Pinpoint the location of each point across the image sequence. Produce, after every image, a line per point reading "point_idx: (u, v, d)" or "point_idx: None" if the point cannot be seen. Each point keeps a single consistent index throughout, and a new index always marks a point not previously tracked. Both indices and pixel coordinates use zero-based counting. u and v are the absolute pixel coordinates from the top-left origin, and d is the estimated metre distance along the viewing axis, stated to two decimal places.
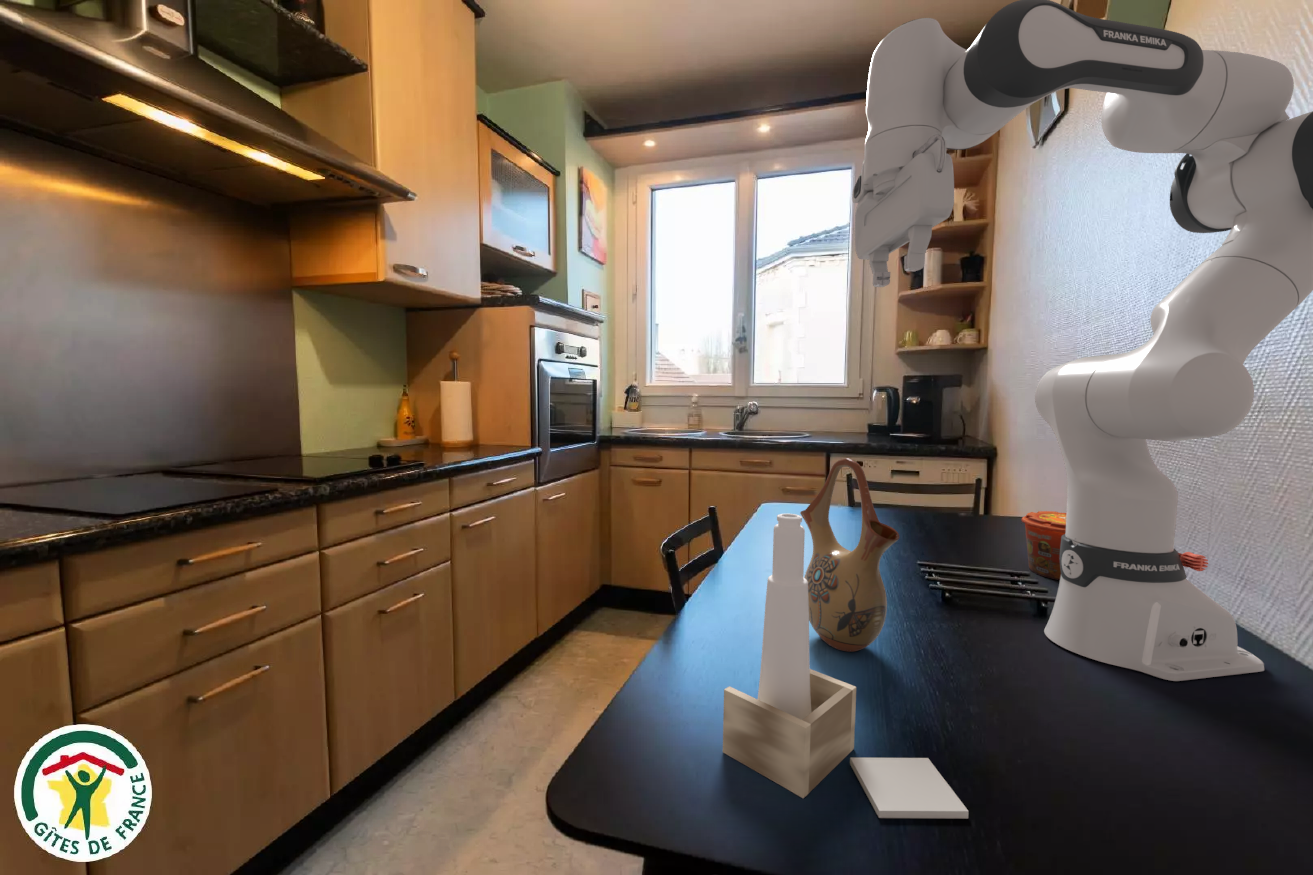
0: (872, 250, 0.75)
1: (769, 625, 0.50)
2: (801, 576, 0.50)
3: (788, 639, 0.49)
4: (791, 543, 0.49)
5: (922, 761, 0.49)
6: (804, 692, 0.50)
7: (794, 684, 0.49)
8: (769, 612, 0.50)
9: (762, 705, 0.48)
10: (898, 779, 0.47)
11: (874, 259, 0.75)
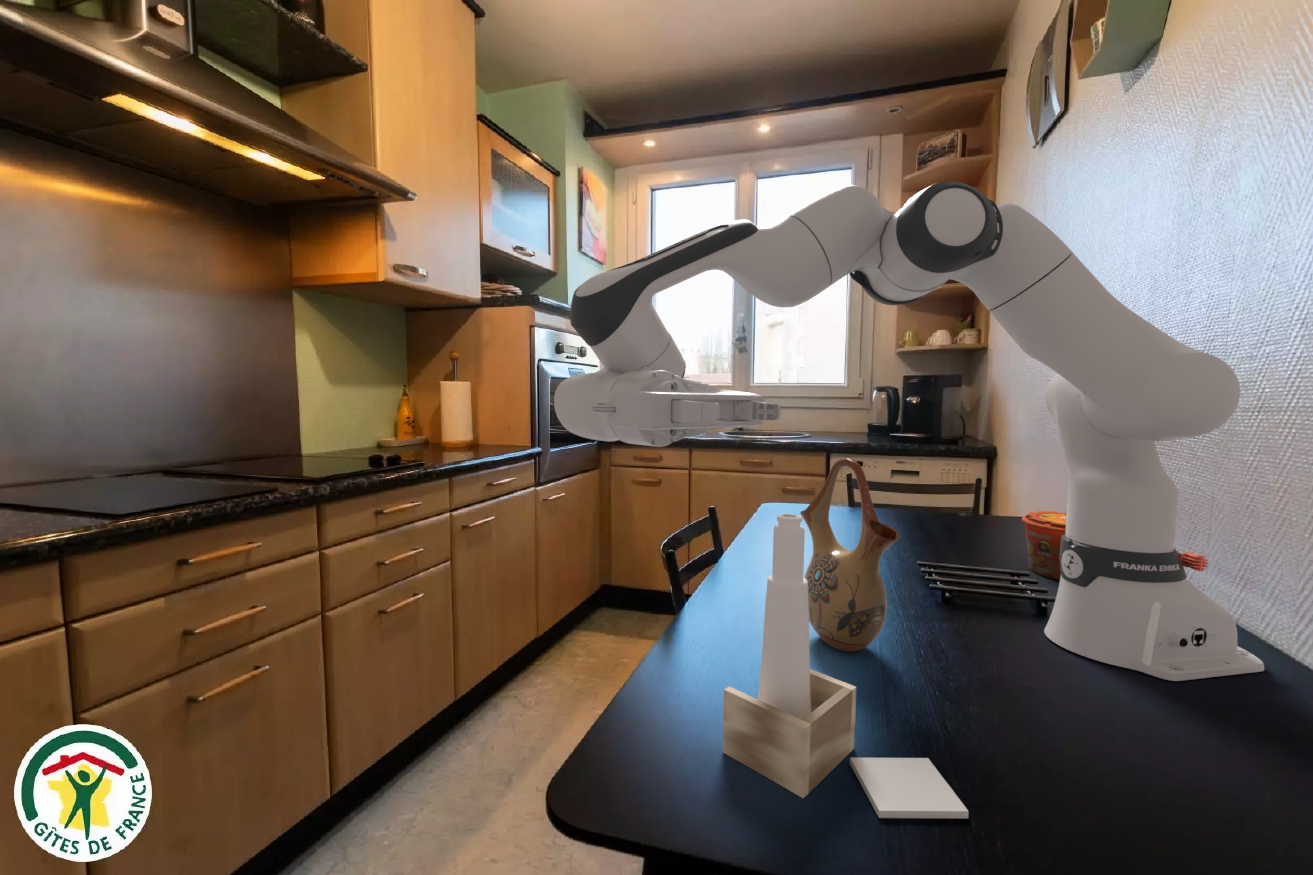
0: (739, 423, 0.62)
1: (769, 625, 0.50)
2: (801, 576, 0.50)
3: (788, 639, 0.49)
4: (791, 543, 0.49)
5: (922, 761, 0.49)
6: (804, 692, 0.50)
7: (794, 684, 0.49)
8: (769, 612, 0.50)
9: (762, 705, 0.48)
10: (898, 779, 0.47)
11: (750, 418, 0.61)
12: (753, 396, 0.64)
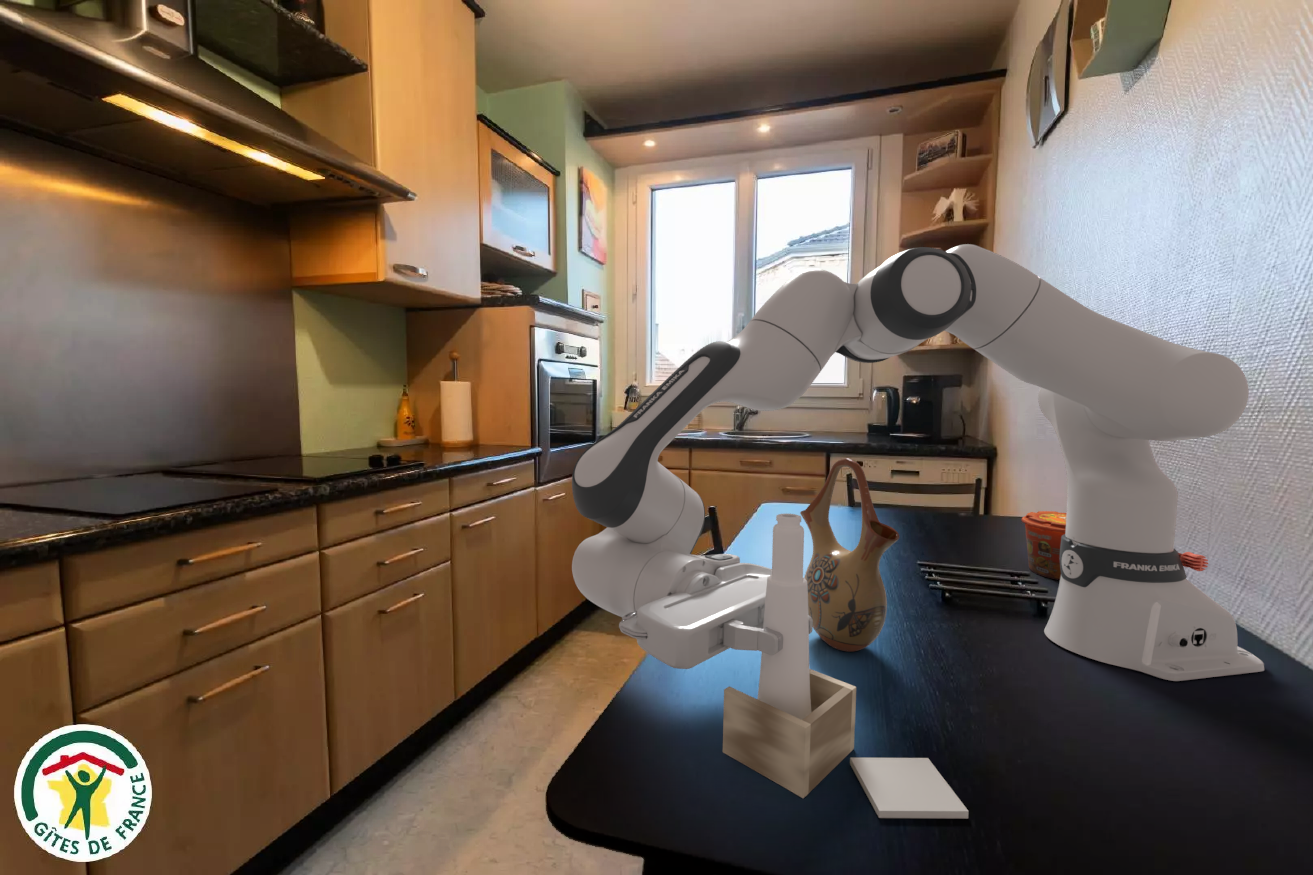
0: None
1: (769, 625, 0.50)
2: (800, 576, 0.50)
3: (788, 639, 0.49)
4: (790, 543, 0.49)
5: (922, 761, 0.49)
6: (804, 692, 0.50)
7: (794, 684, 0.49)
8: (769, 612, 0.50)
9: (762, 705, 0.48)
10: (898, 779, 0.47)
11: None
12: None
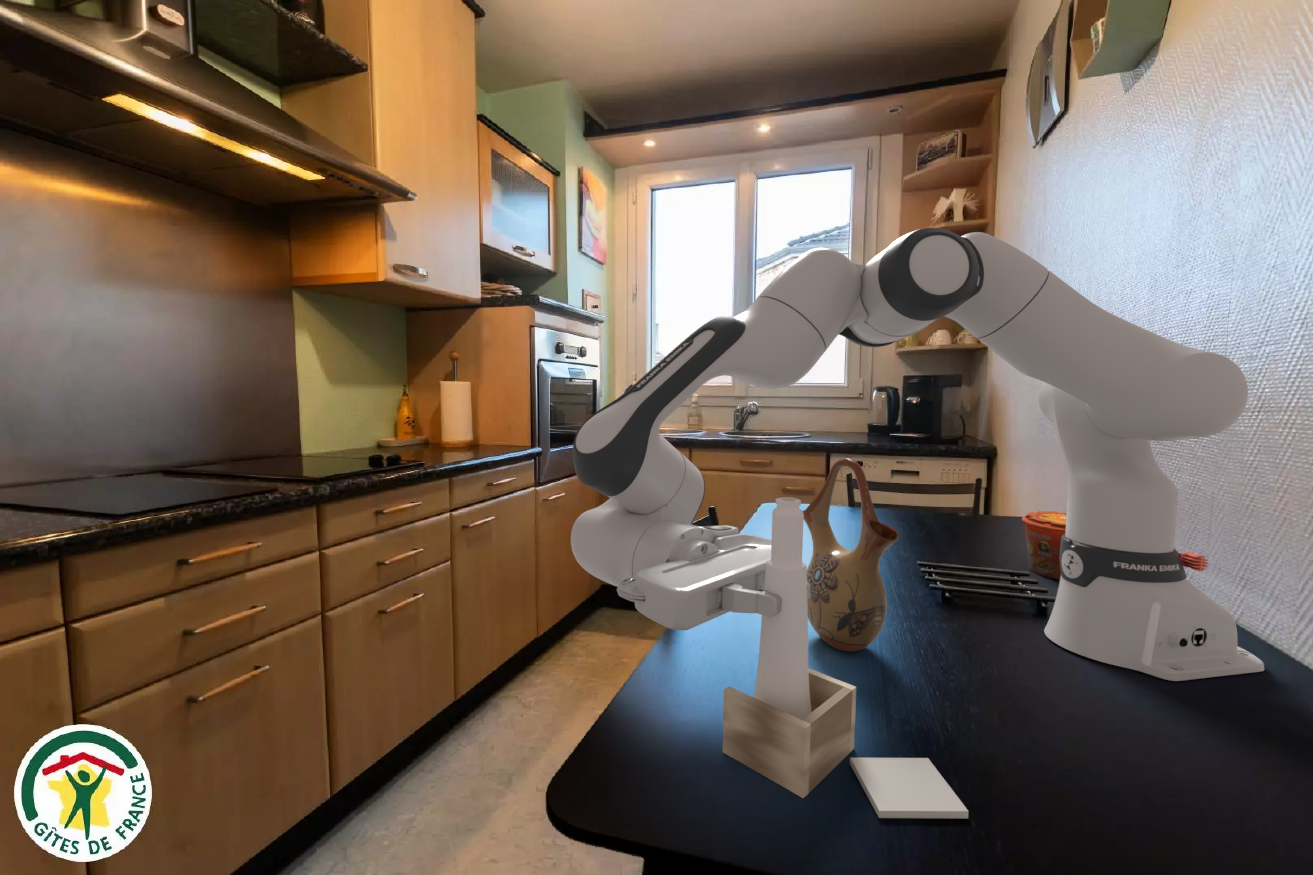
0: None
1: None
2: (801, 558, 0.50)
3: (792, 622, 0.49)
4: (793, 526, 0.49)
5: (922, 761, 0.49)
6: (806, 673, 0.50)
7: (798, 666, 0.49)
8: None
9: (762, 705, 0.48)
10: (898, 779, 0.47)
11: None
12: None
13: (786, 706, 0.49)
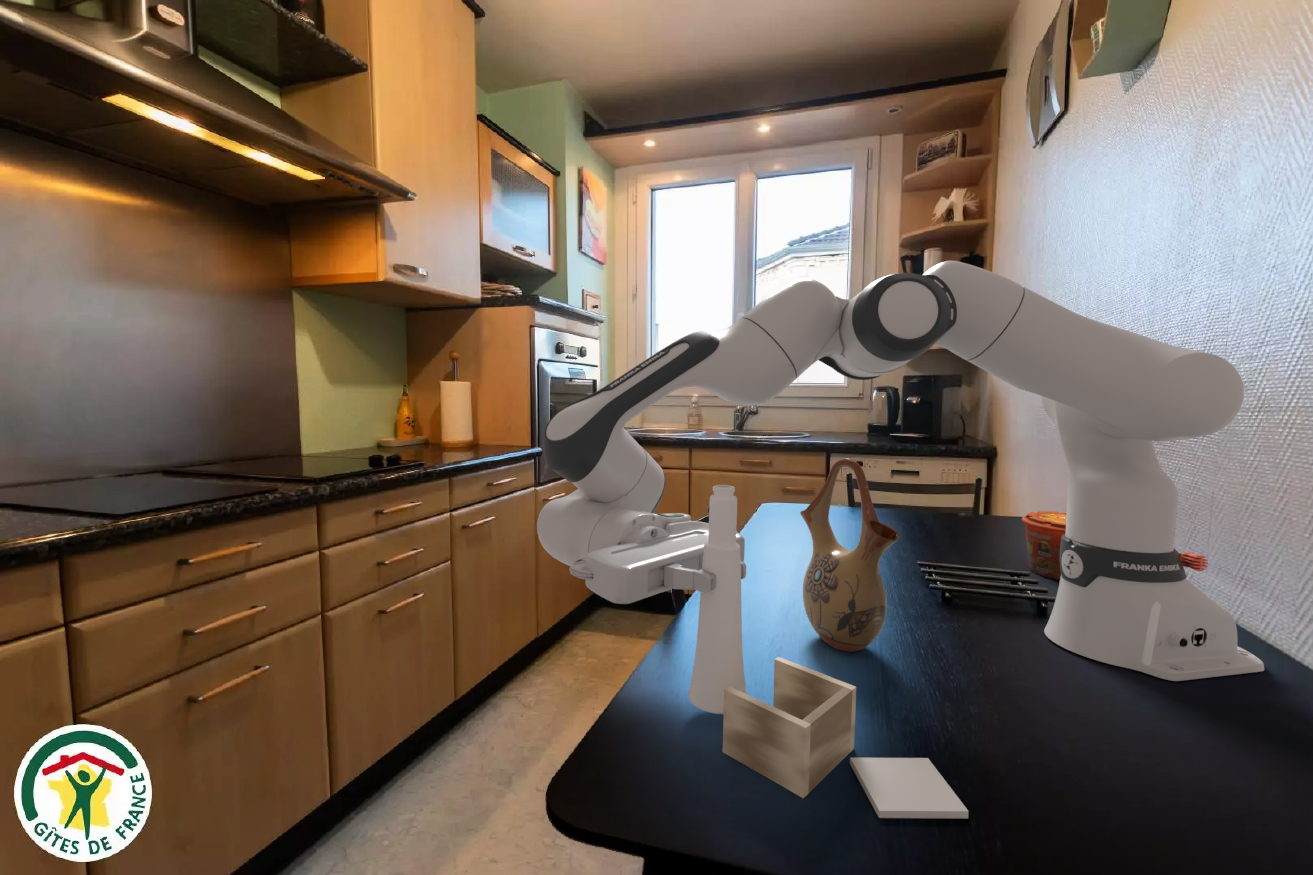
0: None
1: None
2: (735, 540, 0.55)
3: (725, 598, 0.54)
4: (727, 510, 0.54)
5: (922, 761, 0.49)
6: (739, 644, 0.55)
7: (731, 638, 0.54)
8: None
9: (762, 705, 0.48)
10: (898, 779, 0.47)
11: None
12: None
13: (719, 673, 0.54)
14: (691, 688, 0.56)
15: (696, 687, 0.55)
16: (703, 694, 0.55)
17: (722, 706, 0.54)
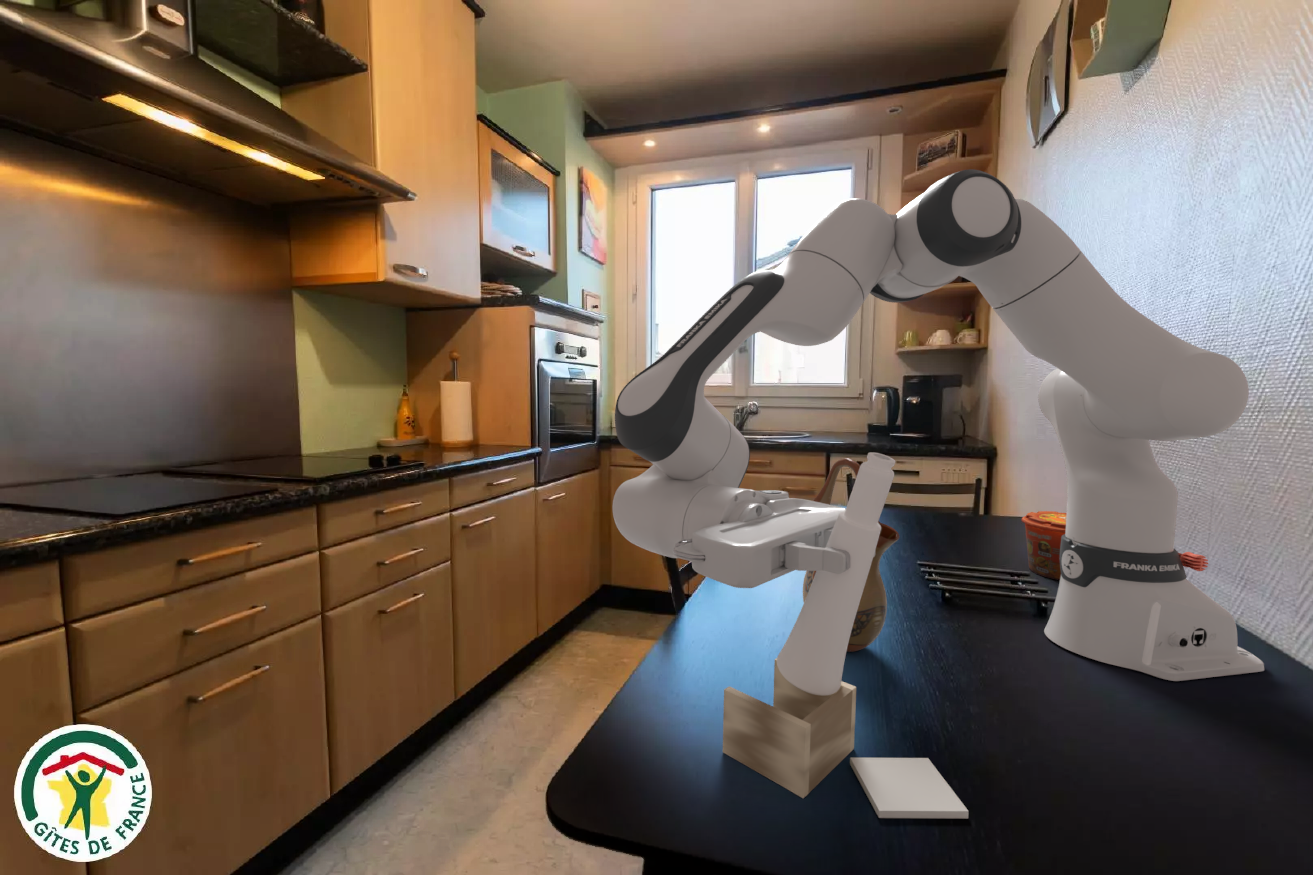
0: None
1: None
2: (878, 519, 0.47)
3: (854, 581, 0.47)
4: (883, 487, 0.45)
5: (922, 761, 0.49)
6: (851, 628, 0.49)
7: (847, 622, 0.48)
8: None
9: (762, 705, 0.48)
10: (898, 779, 0.47)
11: None
12: None
13: (826, 655, 0.49)
14: (784, 661, 0.51)
15: (793, 662, 0.50)
16: (802, 672, 0.50)
17: (820, 688, 0.49)
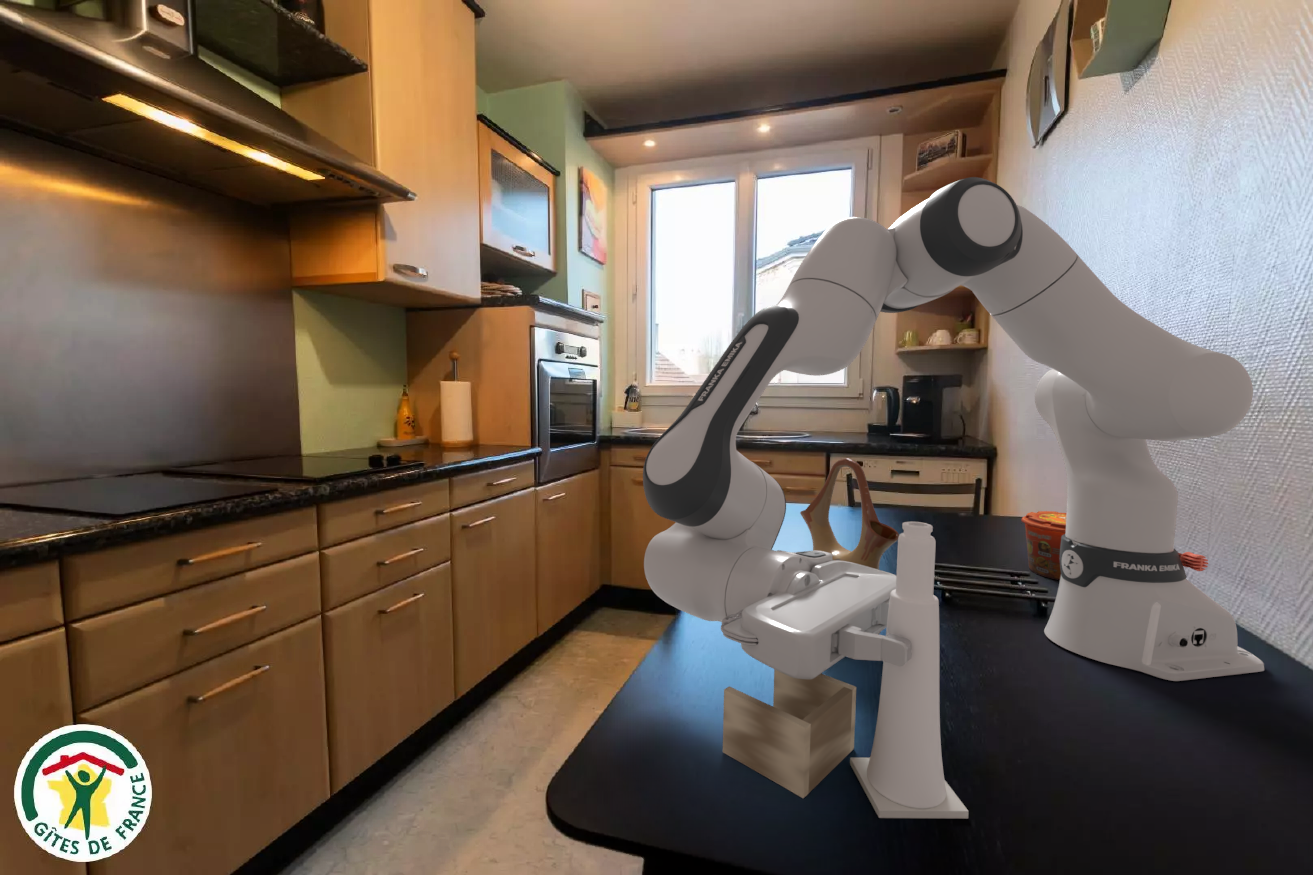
0: None
1: None
2: None
3: (927, 663, 0.44)
4: (928, 555, 0.44)
5: None
6: (939, 719, 0.45)
7: (933, 713, 0.44)
8: (902, 635, 0.44)
9: (762, 705, 0.48)
10: None
11: None
12: None
13: (920, 758, 0.44)
14: (876, 774, 0.46)
15: (886, 774, 0.45)
16: (899, 784, 0.44)
17: (925, 799, 0.43)
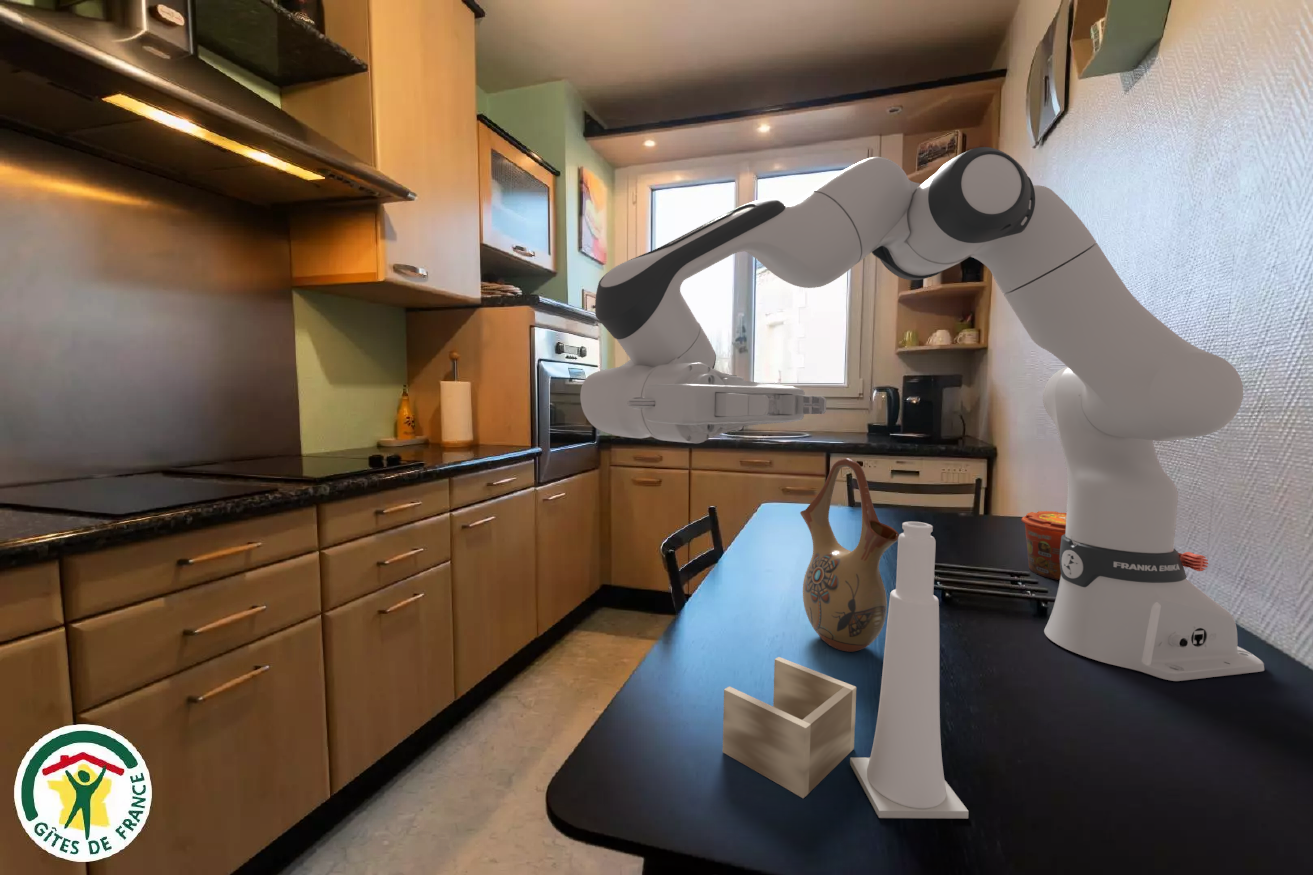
0: (780, 418, 0.59)
1: (903, 650, 0.44)
2: None
3: (927, 663, 0.44)
4: (928, 555, 0.44)
5: None
6: (939, 719, 0.45)
7: (933, 713, 0.44)
8: (902, 635, 0.44)
9: (762, 705, 0.48)
10: None
11: (792, 412, 0.58)
12: (794, 389, 0.60)
13: (920, 758, 0.44)
14: (876, 774, 0.46)
15: (886, 774, 0.45)
16: (899, 784, 0.44)
17: (925, 799, 0.43)
